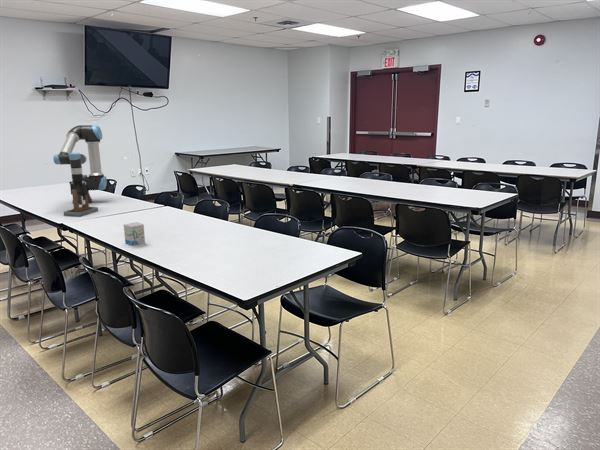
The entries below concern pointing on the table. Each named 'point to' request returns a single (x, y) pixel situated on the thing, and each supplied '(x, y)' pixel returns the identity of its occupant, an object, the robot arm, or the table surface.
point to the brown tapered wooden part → (76, 202)
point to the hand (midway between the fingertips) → (80, 203)
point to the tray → (77, 214)
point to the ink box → (134, 233)
